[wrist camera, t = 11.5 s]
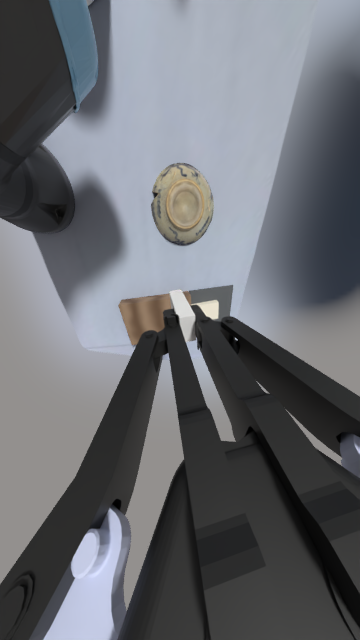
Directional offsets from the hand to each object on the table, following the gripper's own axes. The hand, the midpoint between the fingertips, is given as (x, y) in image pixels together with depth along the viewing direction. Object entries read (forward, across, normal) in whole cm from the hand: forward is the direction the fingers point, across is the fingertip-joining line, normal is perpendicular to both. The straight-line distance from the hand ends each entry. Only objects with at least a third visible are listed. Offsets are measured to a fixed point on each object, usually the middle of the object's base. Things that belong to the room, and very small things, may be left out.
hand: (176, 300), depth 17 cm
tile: (+23, +11, -15) cm, 30 cm away
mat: (+23, +14, -15) cm, 31 cm away
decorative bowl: (+25, +7, +12) cm, 28 cm away
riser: (+23, -4, -15) cm, 28 cm away
